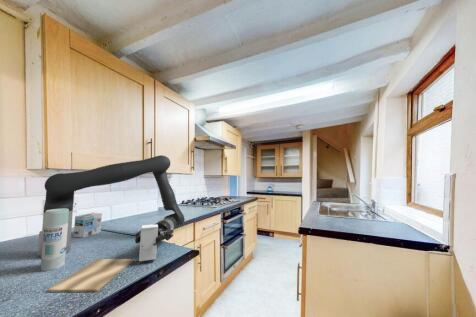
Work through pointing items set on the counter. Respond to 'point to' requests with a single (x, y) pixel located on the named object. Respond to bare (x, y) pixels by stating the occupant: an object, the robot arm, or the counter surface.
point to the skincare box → (148, 242)
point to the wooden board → (91, 276)
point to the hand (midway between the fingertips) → (146, 240)
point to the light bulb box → (87, 224)
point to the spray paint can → (54, 239)
